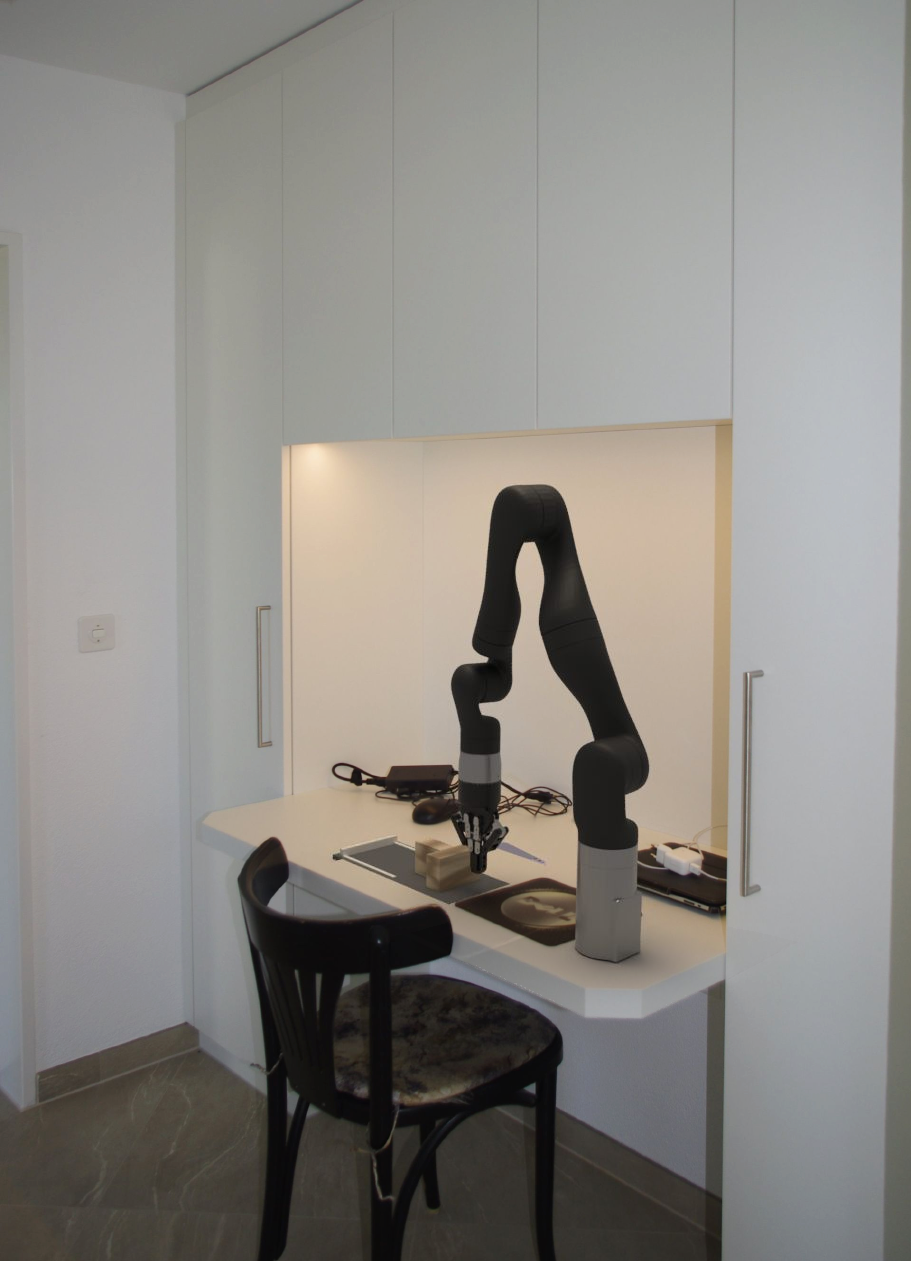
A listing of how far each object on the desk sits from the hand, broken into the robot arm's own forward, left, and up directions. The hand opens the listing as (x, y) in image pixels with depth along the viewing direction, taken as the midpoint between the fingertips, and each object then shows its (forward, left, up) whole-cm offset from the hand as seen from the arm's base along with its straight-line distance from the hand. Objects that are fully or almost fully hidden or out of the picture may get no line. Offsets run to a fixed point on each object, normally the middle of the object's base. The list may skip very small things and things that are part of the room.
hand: (478, 872), depth 175 cm
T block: (+10, 0, -4) cm, 11 cm away
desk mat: (+16, 0, -5) cm, 17 cm away
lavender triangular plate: (+11, -20, -5) cm, 24 cm away
